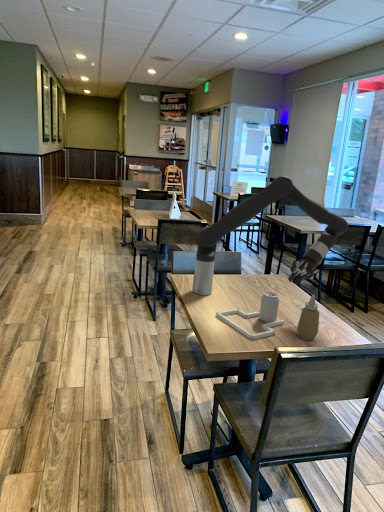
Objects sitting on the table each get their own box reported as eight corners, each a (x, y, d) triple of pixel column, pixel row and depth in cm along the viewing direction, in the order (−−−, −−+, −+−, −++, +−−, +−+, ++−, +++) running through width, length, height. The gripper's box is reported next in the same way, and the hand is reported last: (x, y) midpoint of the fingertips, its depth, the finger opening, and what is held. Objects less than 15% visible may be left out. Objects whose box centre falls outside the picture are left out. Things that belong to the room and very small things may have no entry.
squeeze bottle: (313, 344, 148) (321, 301, 144) (293, 338, 152) (299, 295, 148) (319, 337, 155) (326, 295, 151) (299, 331, 159) (305, 290, 155)
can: (279, 320, 168) (283, 294, 165) (270, 325, 163) (274, 298, 160) (264, 314, 173) (268, 289, 170) (255, 319, 168) (258, 293, 165)
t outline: (256, 308, 180) (257, 305, 180) (294, 329, 160) (295, 326, 160) (216, 315, 168) (216, 312, 168) (251, 339, 148) (252, 336, 148)
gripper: (300, 244, 177) (277, 272, 174) (325, 252, 166) (301, 282, 162) (307, 255, 181) (284, 282, 178) (331, 263, 170) (308, 292, 166)
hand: (292, 282), depth 170 cm, fingers open, 3 cm apart
